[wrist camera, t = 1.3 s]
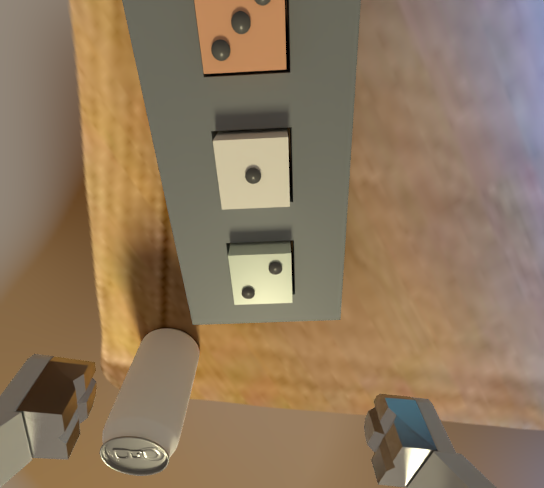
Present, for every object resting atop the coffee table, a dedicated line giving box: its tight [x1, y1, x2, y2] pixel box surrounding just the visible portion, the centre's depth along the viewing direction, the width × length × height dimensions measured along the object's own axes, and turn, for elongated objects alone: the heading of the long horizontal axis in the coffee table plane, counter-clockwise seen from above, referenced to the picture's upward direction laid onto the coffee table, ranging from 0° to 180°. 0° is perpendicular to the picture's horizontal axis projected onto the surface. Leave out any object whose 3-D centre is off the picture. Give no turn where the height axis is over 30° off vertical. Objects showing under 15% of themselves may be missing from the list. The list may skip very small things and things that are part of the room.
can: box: [100, 328, 199, 476], centre depth 34 cm, size 6×6×12 cm
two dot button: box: [228, 241, 292, 305], centre depth 30 cm, size 5×5×3 cm
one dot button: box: [213, 127, 290, 210], centre depth 26 cm, size 5×5×3 cm
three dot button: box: [194, 0, 286, 74], centre depth 21 cm, size 5×5×3 cm
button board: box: [122, 0, 361, 325], centre depth 27 cm, size 14×30×3 cm, turn 3°
